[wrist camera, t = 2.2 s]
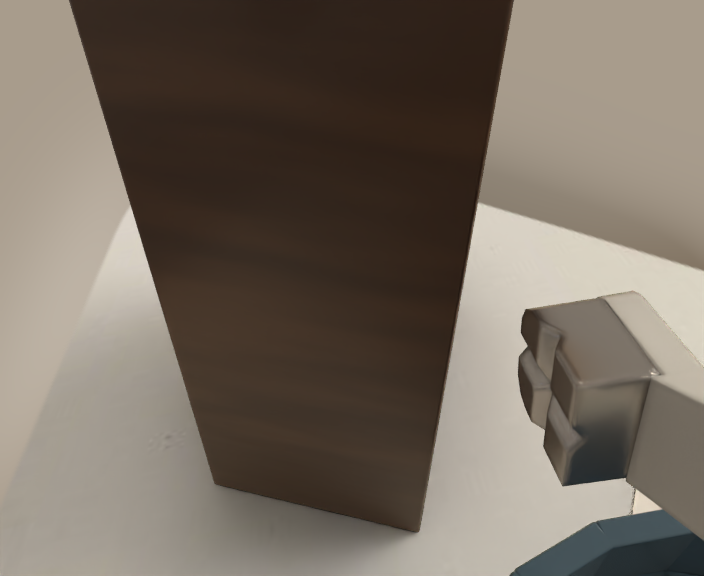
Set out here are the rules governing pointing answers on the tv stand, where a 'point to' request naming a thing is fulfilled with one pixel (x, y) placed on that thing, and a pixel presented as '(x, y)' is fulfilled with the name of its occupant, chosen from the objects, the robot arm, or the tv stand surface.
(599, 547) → the bowl
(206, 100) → the tall wooden pillar
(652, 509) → the white square plate
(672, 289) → the tv stand surface
